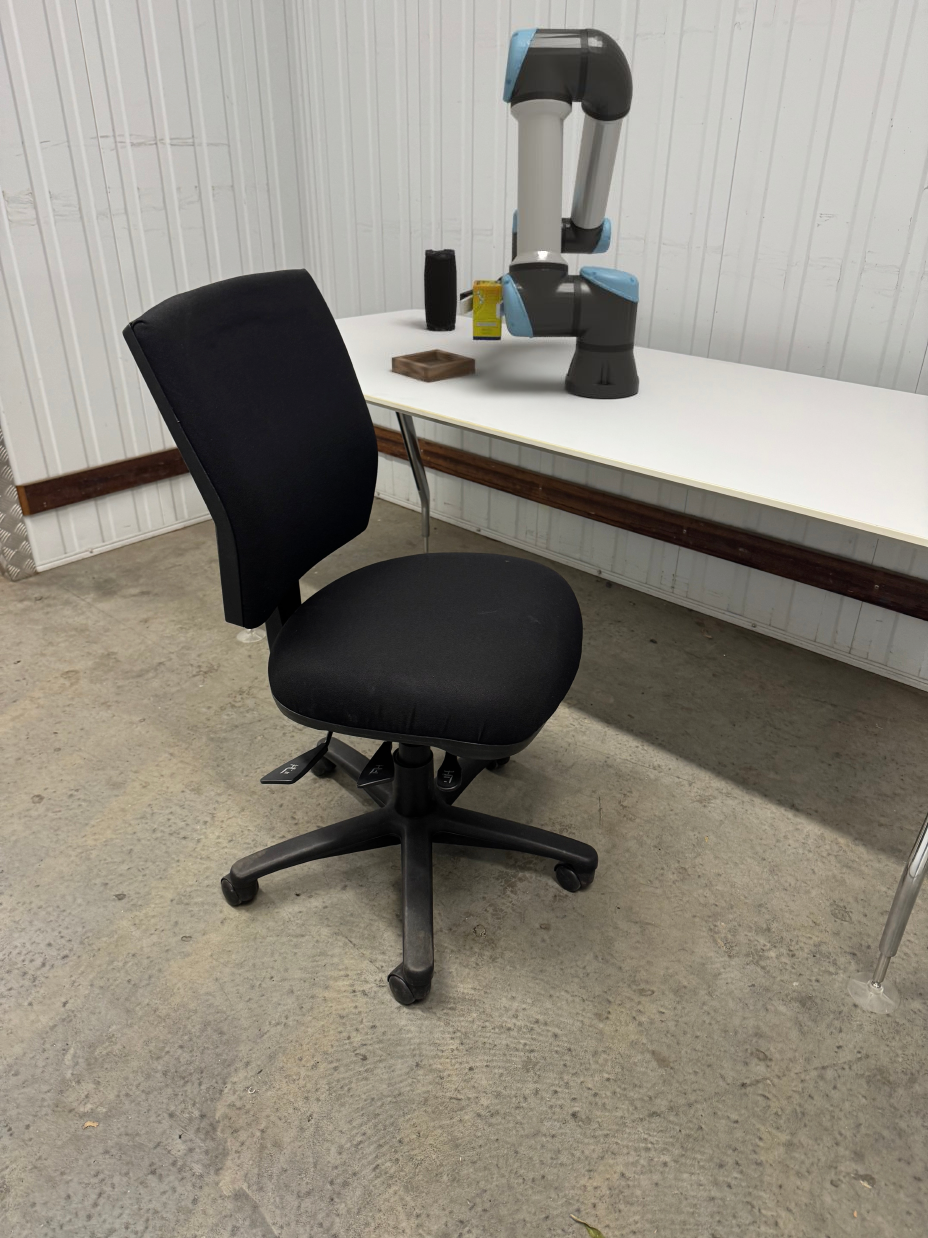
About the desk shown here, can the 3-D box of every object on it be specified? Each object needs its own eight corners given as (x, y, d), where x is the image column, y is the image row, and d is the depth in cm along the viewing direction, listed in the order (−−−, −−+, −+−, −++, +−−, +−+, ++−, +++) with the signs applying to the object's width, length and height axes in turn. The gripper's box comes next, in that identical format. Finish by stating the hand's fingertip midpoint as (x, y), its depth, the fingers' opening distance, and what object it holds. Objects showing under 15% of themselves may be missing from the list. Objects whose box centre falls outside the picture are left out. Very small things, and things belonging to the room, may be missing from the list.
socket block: (474, 372, 196) (475, 358, 194) (429, 382, 188) (428, 368, 187) (437, 362, 204) (437, 348, 203) (392, 371, 197) (391, 357, 195)
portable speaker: (453, 324, 243) (453, 247, 234) (459, 331, 235) (459, 252, 226) (422, 325, 242) (421, 248, 232) (427, 332, 234) (426, 252, 224)
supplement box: (473, 333, 190) (474, 279, 185) (501, 334, 190) (503, 280, 184) (472, 340, 185) (472, 284, 180) (500, 340, 185) (502, 285, 179)
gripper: (556, 310, 198) (526, 332, 179) (471, 303, 203) (434, 324, 185) (558, 274, 194) (527, 293, 175) (472, 268, 200) (433, 286, 181)
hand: (479, 309), depth 180 cm, fingers closed on supplement box, 7 cm apart
